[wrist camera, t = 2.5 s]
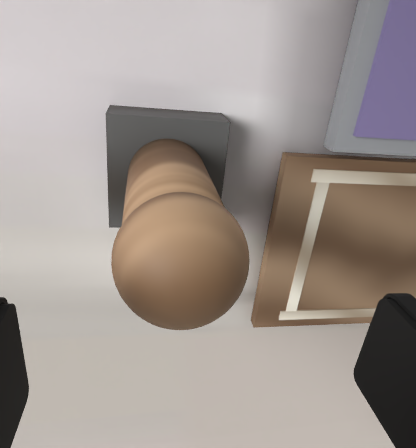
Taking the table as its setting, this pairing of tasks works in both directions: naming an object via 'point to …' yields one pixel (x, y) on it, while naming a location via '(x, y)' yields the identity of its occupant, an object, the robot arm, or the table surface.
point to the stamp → (172, 216)
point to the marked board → (337, 239)
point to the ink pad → (377, 82)
